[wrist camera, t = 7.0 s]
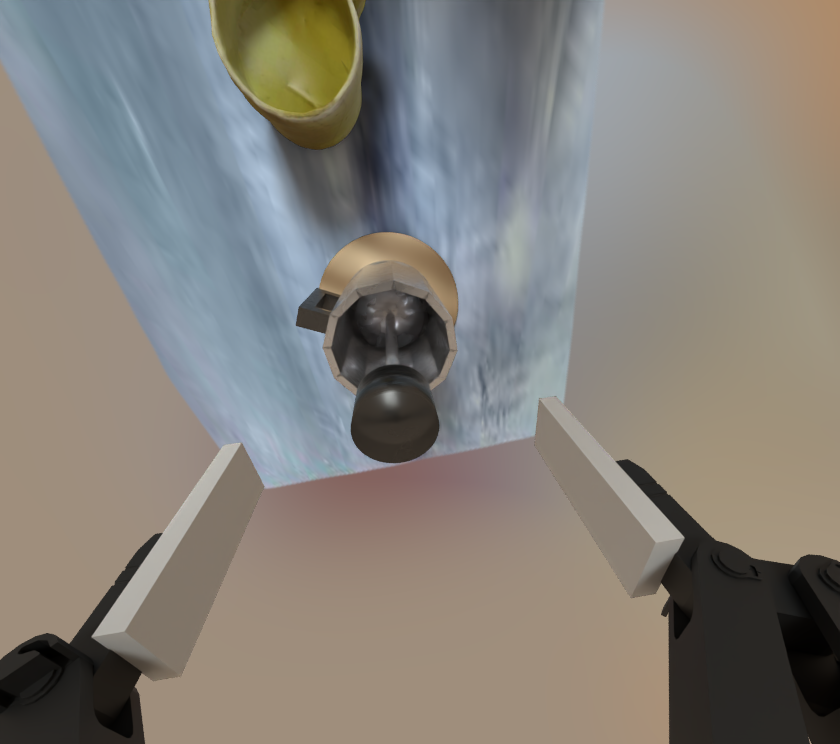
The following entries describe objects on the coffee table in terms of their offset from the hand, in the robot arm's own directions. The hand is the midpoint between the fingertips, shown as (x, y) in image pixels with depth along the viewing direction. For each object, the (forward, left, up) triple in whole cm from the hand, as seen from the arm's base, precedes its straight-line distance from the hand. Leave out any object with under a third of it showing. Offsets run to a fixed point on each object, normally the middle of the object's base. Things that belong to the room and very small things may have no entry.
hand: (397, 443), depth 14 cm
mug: (-18, -11, -25) cm, 32 cm away
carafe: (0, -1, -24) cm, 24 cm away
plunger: (0, 0, -21) cm, 21 cm away
